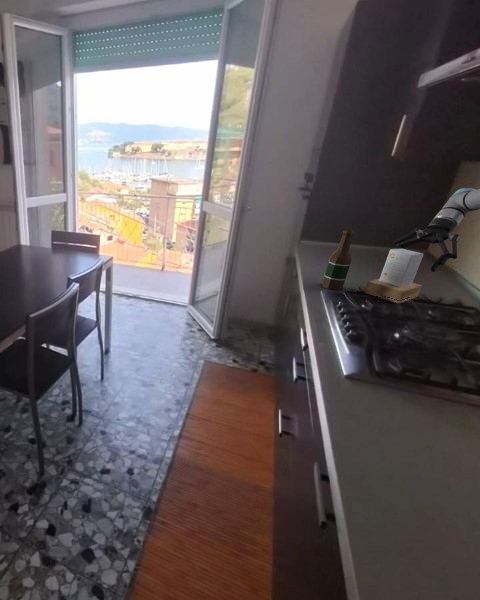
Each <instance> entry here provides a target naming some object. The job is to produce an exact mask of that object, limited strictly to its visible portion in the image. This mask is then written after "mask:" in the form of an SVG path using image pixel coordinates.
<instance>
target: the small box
mask: <svg viewBox="0 0 480 600" xmlns="http://www.w3.org/2000/svg"><path fill="white" fill-rule="evenodd" d="M424 256H425V253H423V252H418V251H414V250H410V249H406V248H402V249H394V248H392V249H391V248H390V249H389V252H388V255H387V257H386V260H385V263H384V265H383V268H382V270H381V273H380V277H379V278H380V279H379V280H380V281H383V282H386V283H389V284H392V285H395V286H397V287H406V286H411V285H412V283H414V280H415V278H416V275H417V273H418V270H419V268H420V265H421V262H422V260H423V257H424Z"/></svg>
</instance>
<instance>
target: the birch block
mask: <svg viewBox="0 0 480 600" xmlns="http://www.w3.org/2000/svg"><path fill="white" fill-rule="evenodd" d="M379 279H380V277H379V278H375V279H371V280H369V281H367V284H366V286H365V289H364V292H363V293H364V294H367V295H369V296H374V297H376V296H378V297H377V298H379V297H381V298H380V299H383V300H386V301H389V302H392V303H395V302H396V304H402V303H405V302H407V301H410V300H414V299H416V298H418V297H419V295H420V292H421V291H422V290H421V289H422V287H423V285H422V284H418V283H415V282H413V283H412V285H411V286H406V287H397V286H395V285H392V284H389V283H386V282H383V281H380V280H379ZM375 293H376V294H375ZM378 294H379V295H378ZM381 295H382V296H381ZM384 296H386V297H384ZM387 297H390V298H387ZM407 297H410V298H408V299H405V298H407ZM391 298H393V299H391ZM394 299H397V300H402V299H405V300H402V301H397V300H394ZM409 299H410V300H409Z"/></svg>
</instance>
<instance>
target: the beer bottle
mask: <svg viewBox="0 0 480 600" xmlns="http://www.w3.org/2000/svg"><path fill="white" fill-rule="evenodd" d="M342 233H343V234H342V237H341V239H340V242H339V245H338V247H337V249H336V250H334V251H333V252H332V253H331V254H330V256H329V258H328V262H327V265H326V269H325V272H324V275H323V279H322V283H321V286H322V287H323V288H325V289H328V290H333V291H340V290H341V291H342V289H343V287H344V286H345V282H346V279H347V276H348V273H349V269H350V267H351V263H352V255H351V252H350V248H351V245H352V239H353V236H354V235H355V231H354V230H348V229H345V230H343V231H342Z"/></svg>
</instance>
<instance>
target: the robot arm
mask: <svg viewBox="0 0 480 600" xmlns="http://www.w3.org/2000/svg"><path fill="white" fill-rule="evenodd" d="M478 210H480V188H478V189H475V188H472V187H467V188H466V187H463V188H459V189H458V190H456V191H455V192H454V193H453V194H452V195H451V196H450V197H449V198H448V200H447V201H446V203H445V204H444V205H443V206H442V208H441V209H440V210H439V212H438V213H437V214H435V216H434V217H433V219H432V220H431V221H430V222H429V224H428V225H427V227H426V228H424V229H423V230H422V229H419V227H415V228H413V229H412V230H411V231H410V232H408V233H406V234H405V235H402V236H401V237H399V238H397V239H395V240H394V241H392V245H393V247H394V248H393V249H405V248H407V247H410V246H412V245H415V244H418V243H419V244H420V243H423V242H424V243H428V244H429V243H430V244H434V245H435V244H438V246H439V248H440V250H441V252H442V254H441V255H440V256H439V257H438V258H437V260H436V261H435V262H434V263H433V264H432V266H431V267H430V270H431V271H430V272H432V273H434V272H435V271H436V270H437V269H438V268H439V267H440V266H444V265H445V264H446V262H447V261H448V260H449V259H453V260H457V258H458V241H459V240H460V235H459V233H455V234H452V233H453V232H454V230H455V229H456V228H457V227H458V226H459V224H460V223H461V222H462V221H463V219H464V218H465V217H466V216H467V214H468V213H470V212H473V211H474V212H475V211H478ZM446 240H449V241H450V242H451V251H452V252H450V251H449V249H448V247H447V244H446V243H445V241H446Z"/></svg>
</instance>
